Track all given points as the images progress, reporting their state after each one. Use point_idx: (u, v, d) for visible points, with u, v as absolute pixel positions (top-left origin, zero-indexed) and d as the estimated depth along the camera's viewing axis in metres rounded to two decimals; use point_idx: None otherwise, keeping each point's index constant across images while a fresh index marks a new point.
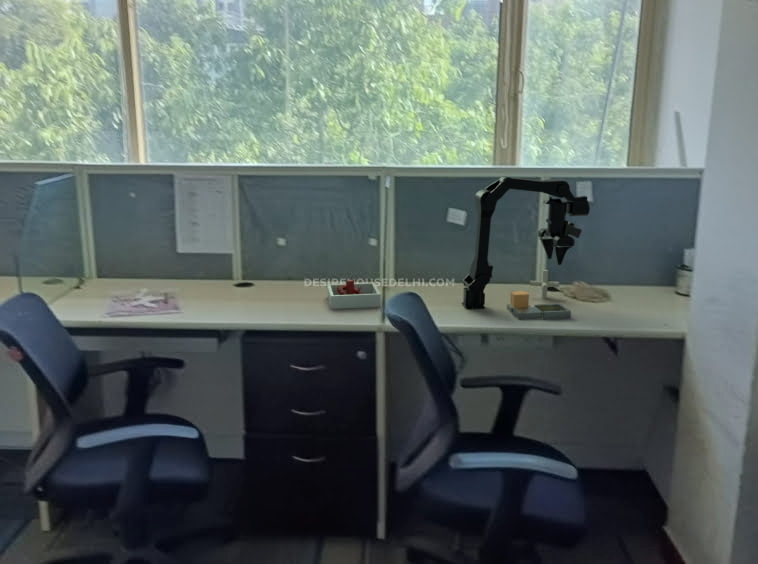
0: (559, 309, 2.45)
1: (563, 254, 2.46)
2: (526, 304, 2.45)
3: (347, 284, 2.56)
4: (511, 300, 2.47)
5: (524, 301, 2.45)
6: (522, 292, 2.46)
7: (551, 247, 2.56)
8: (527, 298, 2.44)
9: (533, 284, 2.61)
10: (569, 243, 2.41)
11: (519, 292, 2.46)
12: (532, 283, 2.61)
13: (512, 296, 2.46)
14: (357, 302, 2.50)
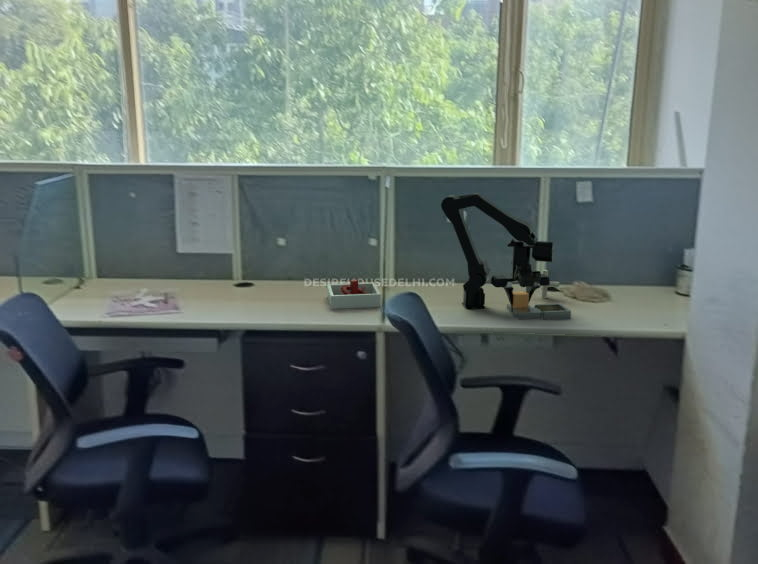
0: (559, 309, 2.45)
1: (509, 295, 2.45)
2: (526, 304, 2.45)
3: (351, 284, 2.56)
4: None
5: (524, 301, 2.45)
6: (522, 292, 2.46)
7: (528, 293, 2.46)
8: (527, 298, 2.44)
9: None
10: (494, 283, 2.42)
11: (519, 292, 2.46)
12: None
13: None
14: (357, 302, 2.50)
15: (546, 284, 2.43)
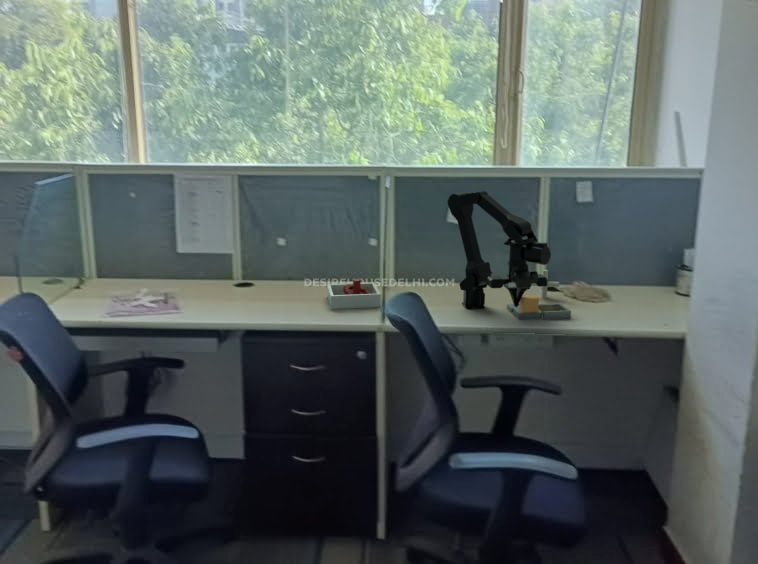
0: (559, 309, 2.45)
1: (512, 296, 2.37)
2: (536, 308, 2.38)
3: (353, 283, 2.57)
4: (521, 304, 2.40)
5: (533, 305, 2.38)
6: (532, 296, 2.40)
7: (517, 295, 2.38)
8: (537, 302, 2.38)
9: (533, 284, 2.61)
10: (489, 284, 2.35)
11: (529, 296, 2.40)
12: (532, 283, 2.61)
13: (521, 300, 2.39)
14: (357, 302, 2.50)
15: (544, 285, 2.35)
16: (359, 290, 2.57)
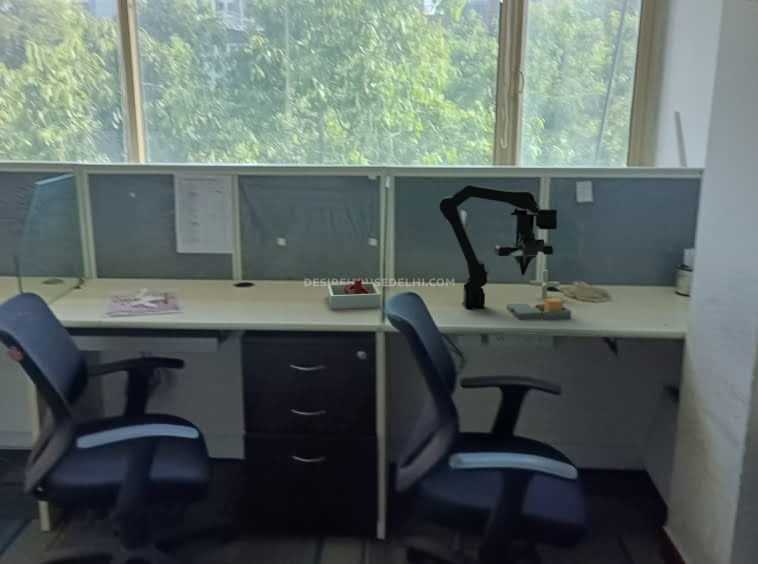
0: None
1: (519, 264, 2.44)
2: None
3: (355, 283, 2.57)
4: (552, 299, 2.41)
5: None
6: None
7: (524, 263, 2.44)
8: None
9: (533, 284, 2.61)
10: (497, 252, 2.41)
11: None
12: (532, 283, 2.61)
13: (557, 300, 2.40)
14: (357, 302, 2.50)
15: (550, 253, 2.42)
16: (360, 290, 2.57)
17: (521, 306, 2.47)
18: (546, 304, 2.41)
